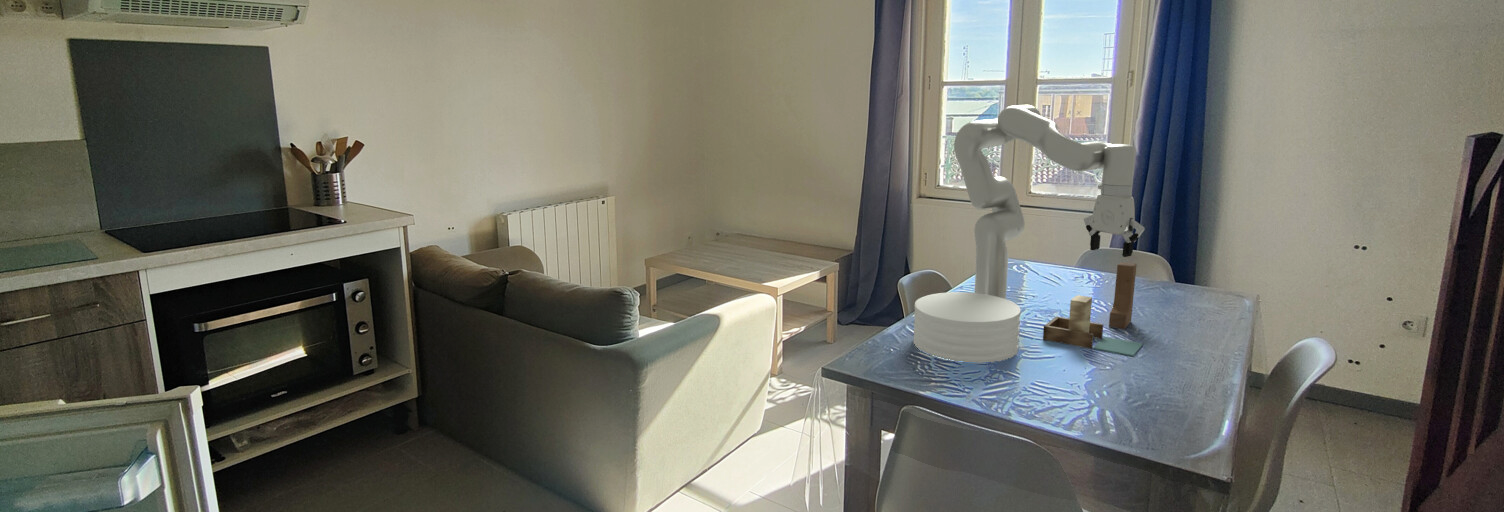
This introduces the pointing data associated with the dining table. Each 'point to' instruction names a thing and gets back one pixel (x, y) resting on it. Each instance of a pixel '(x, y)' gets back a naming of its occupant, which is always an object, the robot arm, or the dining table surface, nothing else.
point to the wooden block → (1123, 295)
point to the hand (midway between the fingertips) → (1110, 252)
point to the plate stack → (967, 326)
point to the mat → (1118, 346)
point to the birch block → (1080, 313)
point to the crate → (1071, 333)
